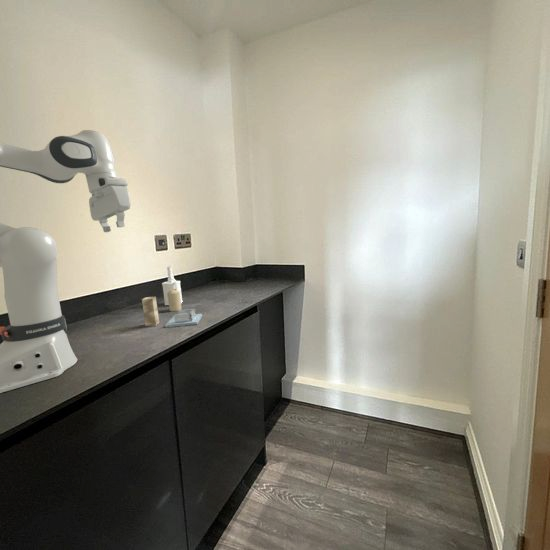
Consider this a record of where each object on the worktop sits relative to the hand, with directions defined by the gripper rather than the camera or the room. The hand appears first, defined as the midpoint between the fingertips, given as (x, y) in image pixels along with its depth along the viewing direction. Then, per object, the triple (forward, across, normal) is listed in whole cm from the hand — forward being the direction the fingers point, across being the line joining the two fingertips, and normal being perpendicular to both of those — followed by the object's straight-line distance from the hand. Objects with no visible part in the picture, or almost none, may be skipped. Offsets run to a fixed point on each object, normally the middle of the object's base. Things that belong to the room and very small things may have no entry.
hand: (114, 229), depth 94 cm
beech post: (+37, -15, +14) cm, 42 cm away
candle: (+36, -26, +33) cm, 56 cm away
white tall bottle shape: (+35, -39, +41) cm, 66 cm away
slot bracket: (+37, -5, +23) cm, 43 cm away
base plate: (+38, -5, +22) cm, 44 cm away
